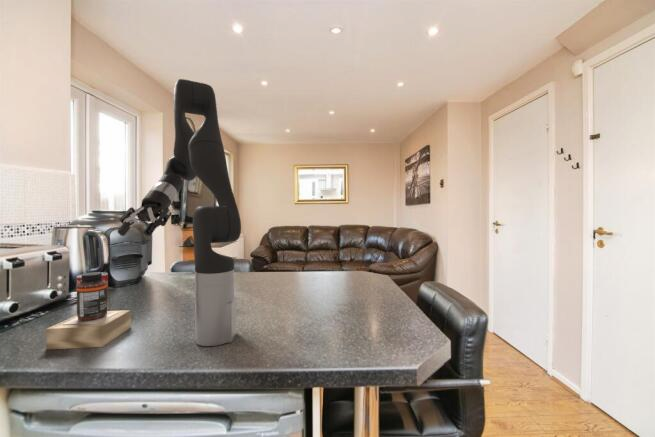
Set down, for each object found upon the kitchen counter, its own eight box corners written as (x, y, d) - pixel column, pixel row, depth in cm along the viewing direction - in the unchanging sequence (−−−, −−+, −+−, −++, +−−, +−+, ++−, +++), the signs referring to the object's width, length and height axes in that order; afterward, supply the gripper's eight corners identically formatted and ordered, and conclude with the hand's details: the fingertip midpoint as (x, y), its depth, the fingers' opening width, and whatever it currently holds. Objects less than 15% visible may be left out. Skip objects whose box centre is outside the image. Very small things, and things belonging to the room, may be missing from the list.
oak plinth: (130, 327, 81) (130, 309, 81) (102, 346, 69) (102, 325, 69) (83, 329, 80) (83, 311, 79) (46, 349, 68) (46, 327, 68)
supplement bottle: (83, 315, 76) (82, 272, 76) (110, 312, 78) (110, 270, 78) (72, 323, 71) (72, 276, 70) (102, 320, 73) (101, 274, 73)
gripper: (134, 189, 96) (103, 225, 85) (174, 189, 94) (147, 225, 83) (147, 206, 102) (119, 242, 90) (184, 205, 100) (161, 242, 88)
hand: (133, 234), depth 87 cm, fingers open, 8 cm apart
